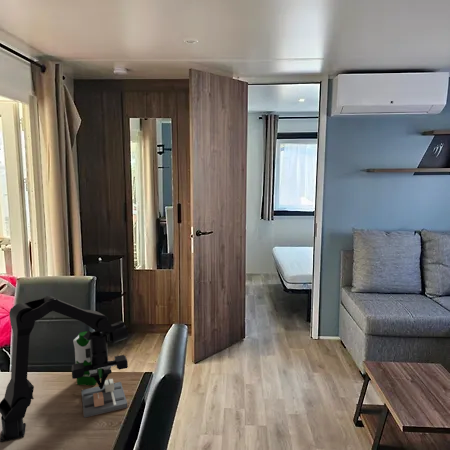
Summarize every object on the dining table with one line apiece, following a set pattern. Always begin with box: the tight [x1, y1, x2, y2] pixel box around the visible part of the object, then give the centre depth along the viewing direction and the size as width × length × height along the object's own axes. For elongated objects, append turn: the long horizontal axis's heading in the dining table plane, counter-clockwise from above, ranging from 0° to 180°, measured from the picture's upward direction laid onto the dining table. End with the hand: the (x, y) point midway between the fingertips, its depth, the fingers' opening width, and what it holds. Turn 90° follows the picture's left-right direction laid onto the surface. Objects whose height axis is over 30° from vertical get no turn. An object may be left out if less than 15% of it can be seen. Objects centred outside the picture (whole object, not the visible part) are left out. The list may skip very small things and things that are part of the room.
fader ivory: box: [104, 378, 115, 392], centre depth 140 cm, size 4×3×3 cm
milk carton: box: [72, 330, 102, 387], centre depth 149 cm, size 9×9×20 cm
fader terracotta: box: [93, 392, 104, 407], centre depth 132 cm, size 4×3×3 cm
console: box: [80, 381, 128, 418], centre depth 137 cm, size 15×14×2 cm
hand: (101, 388), depth 140 cm, fingers closed
